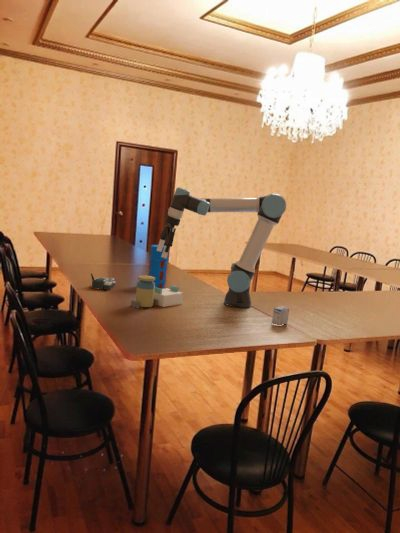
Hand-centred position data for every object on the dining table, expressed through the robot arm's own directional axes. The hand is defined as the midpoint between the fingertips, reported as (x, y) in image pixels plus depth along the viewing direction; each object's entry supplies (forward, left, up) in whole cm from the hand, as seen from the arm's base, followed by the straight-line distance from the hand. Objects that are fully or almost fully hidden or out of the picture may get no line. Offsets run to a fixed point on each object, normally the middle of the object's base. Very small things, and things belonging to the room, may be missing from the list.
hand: (161, 254), depth 246 cm
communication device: (+38, +7, -25) cm, 46 cm away
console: (-7, +8, -25) cm, 27 cm away
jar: (-7, +16, -25) cm, 30 cm away
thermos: (+25, -22, -25) cm, 41 cm away
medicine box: (-64, -22, -25) cm, 72 cm away
